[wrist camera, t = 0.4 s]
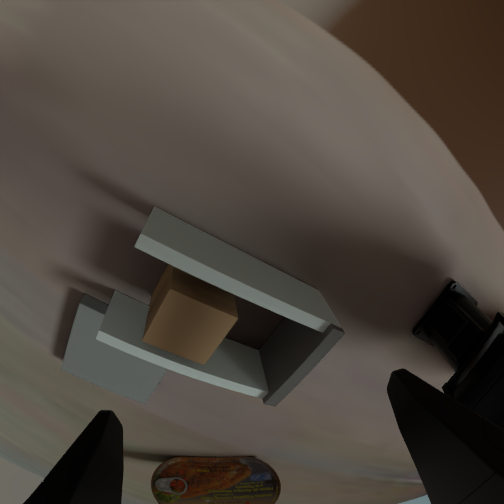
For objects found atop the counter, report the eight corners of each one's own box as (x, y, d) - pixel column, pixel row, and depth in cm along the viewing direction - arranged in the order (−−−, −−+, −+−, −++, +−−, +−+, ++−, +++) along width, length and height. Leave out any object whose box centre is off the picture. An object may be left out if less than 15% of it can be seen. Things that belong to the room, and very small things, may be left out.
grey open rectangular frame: (319, 290, 23) (344, 333, 18) (263, 360, 25) (275, 406, 20) (154, 206, 18) (138, 237, 14) (111, 298, 20) (93, 344, 16)
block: (230, 273, 21) (238, 318, 17) (202, 316, 22) (204, 365, 18) (176, 247, 20) (169, 288, 15) (152, 293, 21) (141, 341, 16)
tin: (274, 454, 33) (288, 510, 25) (269, 464, 34) (281, 517, 27) (151, 452, 30) (150, 512, 22) (153, 463, 31) (152, 519, 24)
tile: (181, 337, 23) (181, 348, 22) (146, 393, 25) (145, 403, 24) (84, 293, 20) (79, 302, 19) (65, 359, 22) (61, 369, 21)
